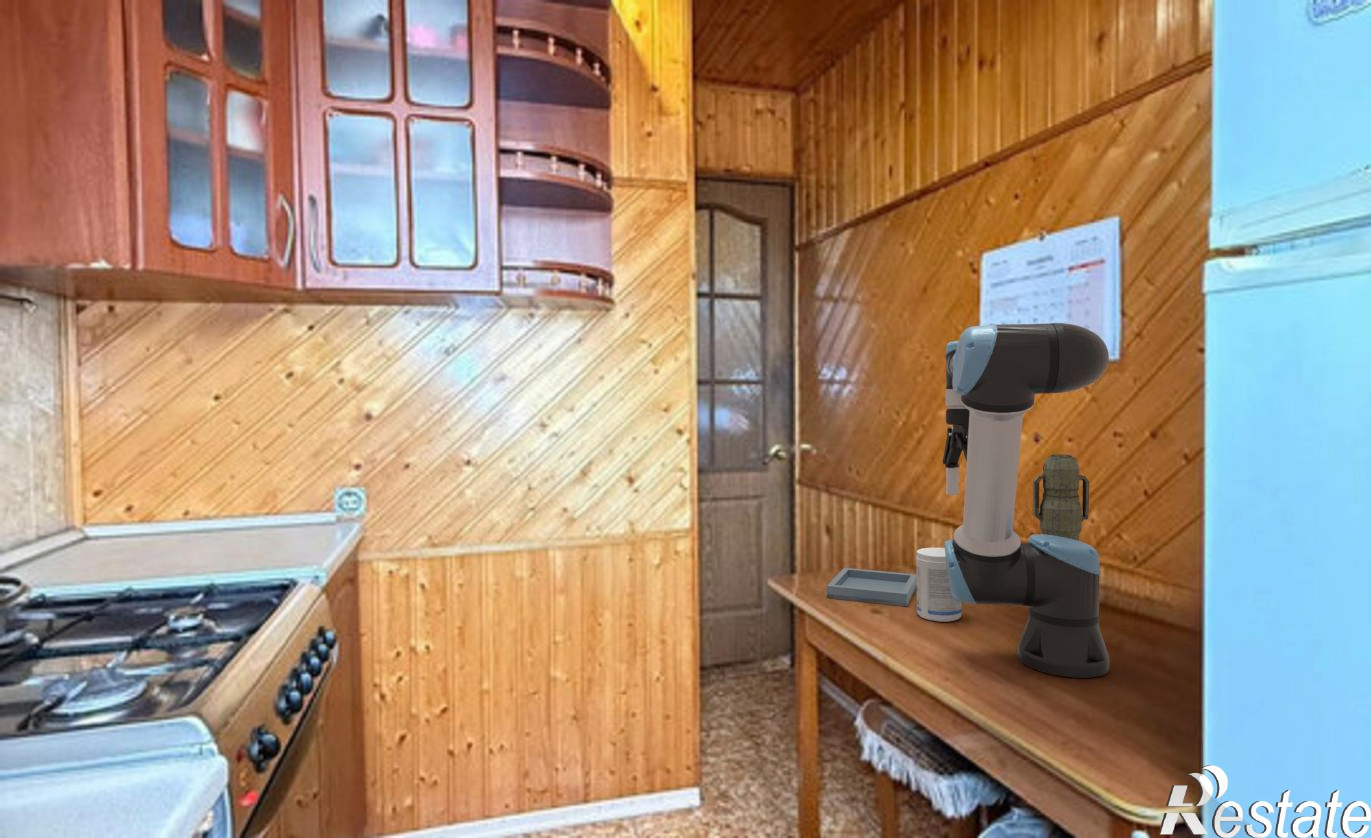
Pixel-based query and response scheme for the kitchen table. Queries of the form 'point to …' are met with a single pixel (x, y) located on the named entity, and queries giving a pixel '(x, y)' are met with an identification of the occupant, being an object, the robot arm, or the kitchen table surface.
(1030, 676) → the kitchen table surface
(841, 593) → the tray
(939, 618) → the supplement tub
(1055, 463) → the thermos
